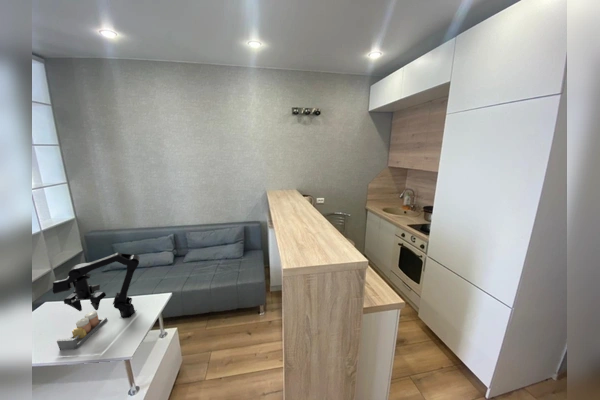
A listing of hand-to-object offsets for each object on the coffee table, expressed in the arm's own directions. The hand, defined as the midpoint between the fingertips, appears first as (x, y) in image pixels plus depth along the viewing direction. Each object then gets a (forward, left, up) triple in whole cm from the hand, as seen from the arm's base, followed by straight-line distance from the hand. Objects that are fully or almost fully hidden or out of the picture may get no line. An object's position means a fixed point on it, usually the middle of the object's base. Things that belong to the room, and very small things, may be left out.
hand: (89, 310), depth 129 cm
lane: (0, +6, -11) cm, 12 cm away
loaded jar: (0, +5, -11) cm, 12 cm away
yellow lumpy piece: (0, +10, -10) cm, 14 cm away
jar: (0, 0, -11) cm, 11 cm away
